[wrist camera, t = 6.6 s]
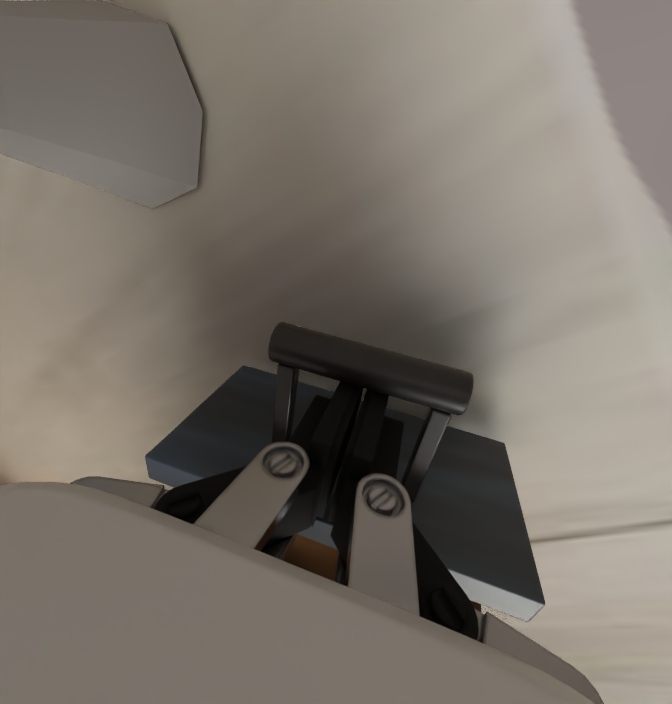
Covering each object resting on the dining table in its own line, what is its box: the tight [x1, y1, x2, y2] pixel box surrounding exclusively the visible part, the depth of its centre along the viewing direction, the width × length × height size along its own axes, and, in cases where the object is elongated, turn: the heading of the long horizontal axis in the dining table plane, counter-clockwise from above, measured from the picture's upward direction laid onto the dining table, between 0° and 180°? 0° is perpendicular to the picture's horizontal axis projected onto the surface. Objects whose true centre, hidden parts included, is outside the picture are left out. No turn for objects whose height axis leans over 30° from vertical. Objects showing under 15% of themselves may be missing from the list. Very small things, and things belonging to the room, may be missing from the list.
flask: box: [0, 0, 203, 209], centre depth 10 cm, size 7×7×10 cm
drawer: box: [145, 322, 545, 622], centre depth 16 cm, size 21×14×7 cm, turn 171°
